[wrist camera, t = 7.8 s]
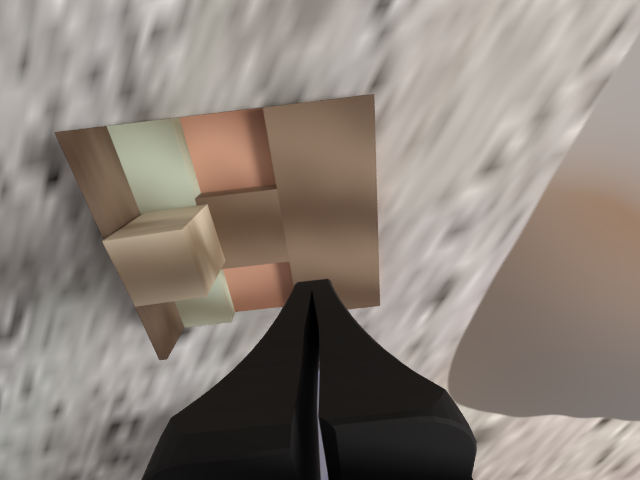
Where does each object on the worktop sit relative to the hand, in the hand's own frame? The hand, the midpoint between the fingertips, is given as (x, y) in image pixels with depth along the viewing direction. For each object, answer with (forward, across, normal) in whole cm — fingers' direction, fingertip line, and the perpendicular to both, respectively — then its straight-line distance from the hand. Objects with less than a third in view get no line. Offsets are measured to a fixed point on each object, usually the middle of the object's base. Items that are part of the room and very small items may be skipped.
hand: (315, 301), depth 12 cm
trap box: (+9, +3, 0) cm, 10 cm away
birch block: (+8, +8, 0) cm, 11 cm away
